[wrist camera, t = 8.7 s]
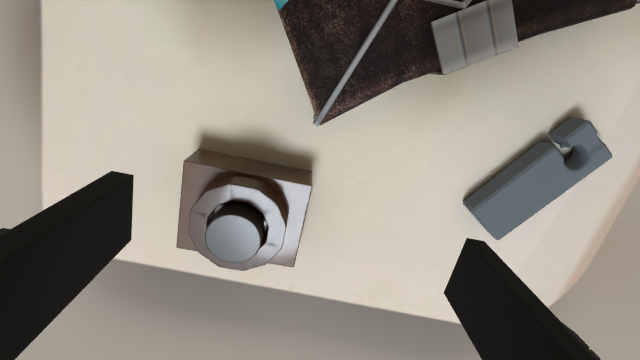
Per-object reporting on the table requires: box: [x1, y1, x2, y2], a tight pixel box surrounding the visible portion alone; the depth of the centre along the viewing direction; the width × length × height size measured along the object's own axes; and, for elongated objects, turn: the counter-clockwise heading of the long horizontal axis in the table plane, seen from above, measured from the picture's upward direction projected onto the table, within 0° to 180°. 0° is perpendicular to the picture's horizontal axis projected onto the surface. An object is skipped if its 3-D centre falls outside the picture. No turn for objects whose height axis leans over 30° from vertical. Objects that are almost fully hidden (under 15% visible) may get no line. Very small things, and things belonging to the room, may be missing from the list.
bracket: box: [463, 117, 612, 240], centre depth 26 cm, size 4×10×2 cm, turn 134°
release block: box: [176, 149, 312, 271], centre depth 25 cm, size 9×7×5 cm
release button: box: [205, 204, 264, 263], centre depth 22 cm, size 4×4×2 cm
